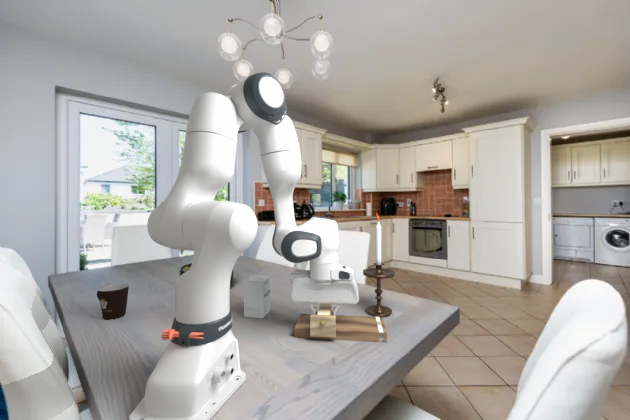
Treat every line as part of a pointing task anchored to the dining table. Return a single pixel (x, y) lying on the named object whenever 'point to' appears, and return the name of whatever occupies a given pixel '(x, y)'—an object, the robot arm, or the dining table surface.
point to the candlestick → (378, 279)
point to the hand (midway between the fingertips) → (324, 316)
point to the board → (347, 328)
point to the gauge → (323, 322)
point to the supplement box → (257, 296)
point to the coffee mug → (113, 300)
